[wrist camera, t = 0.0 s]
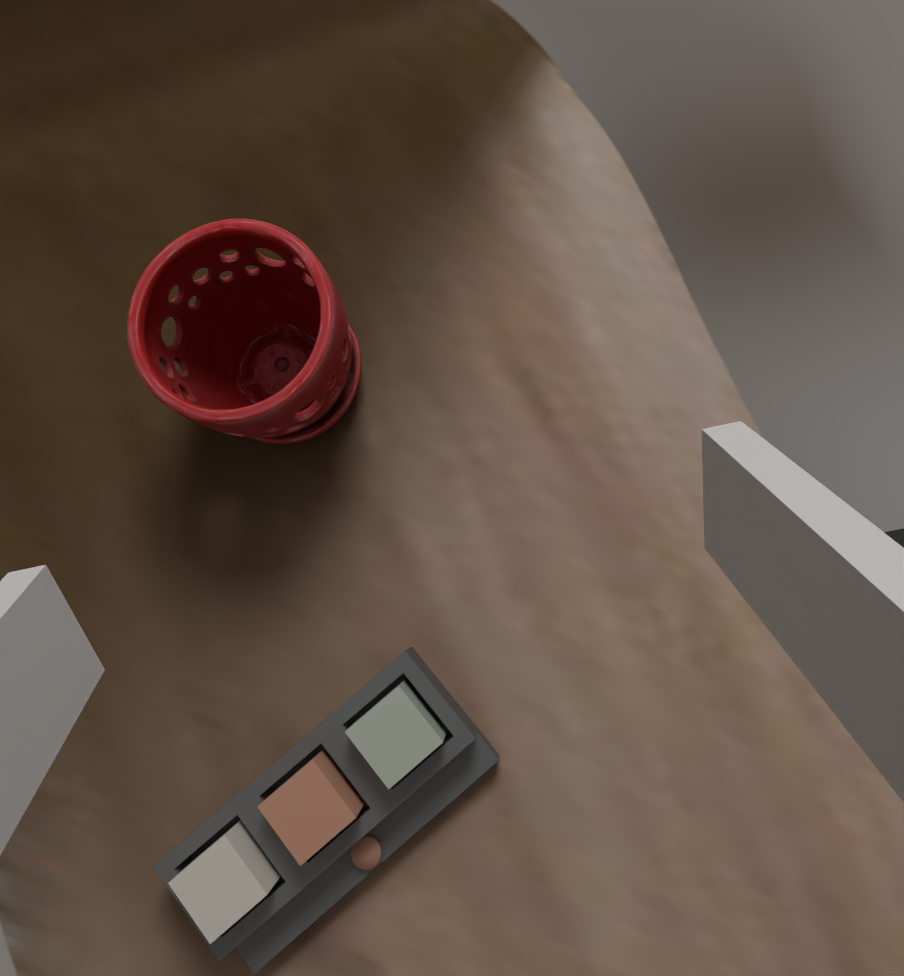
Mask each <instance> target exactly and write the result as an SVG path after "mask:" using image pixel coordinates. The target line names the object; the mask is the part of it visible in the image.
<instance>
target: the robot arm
mask: <svg viewBox="0 0 904 976" xmlns="http://www.w3.org/2000/svg"><path fill="white" fill-rule="evenodd" d="M702 460H703V501H704V542H705V549H706V550H707V551H708V553H709V554H710V555H711V557H712V558H713V559H714V560H715V562H716V563H717V564H718V566H719V567H720V568H721V569H722V571H723V572H724V573H725V575H726V576H727V577H728V578H729V580H730V581H731V582H732V583H733V585H734V586H735V587H736V589H737V590H738V591H739V592H740V594H741V595H742V596H743V598H744V599H745V600H746V601H747V603H748V604H749V605H750V606H751V608H752V609H753V610H754V612H755V613H756V614H757V615H758V617H759V618H760V619H761V621H762V622H763V623H764V624H765V626H766V627H767V628H768V630H769V631H770V632H771V633H772V635H773V636H774V637H775V638H776V640H777V641H778V642H779V644H780V645H781V646H782V647H783V649H784V650H785V651H786V653H787V654H788V655H789V656H790V658H791V659H792V660H793V662H794V663H795V664H796V665H797V667H798V668H799V669H800V670H801V672H802V673H803V674H804V676H805V677H806V678H807V679H808V681H809V682H810V683H811V685H812V686H813V687H814V688H815V690H816V691H817V692H818V693H819V695H820V696H821V697H822V699H823V700H824V701H825V702H826V704H827V705H828V706H829V708H830V709H831V710H832V711H833V713H834V714H835V715H836V717H837V718H838V719H839V720H840V722H841V723H842V724H843V725H844V727H845V728H846V729H847V731H848V732H849V733H850V734H851V736H852V737H853V738H854V740H855V741H856V742H857V743H858V745H859V746H860V747H861V749H862V750H863V751H864V752H865V754H866V755H867V756H868V757H869V759H870V760H871V761H872V763H873V764H874V765H875V766H876V768H877V769H878V770H879V772H880V773H881V774H882V775H883V777H884V778H885V779H886V780H887V782H888V783H889V784H890V786H891V787H892V788H893V789H894V791H895V792H896V793H897V795H898V796H899V797H900V798H901V800H902V801H903V802H904V529H899V530H894V531H889V532H883V531H881V530H880V529H879V528H877V527H876V526H875V525H874V524H872V523H871V522H870V521H868V520H867V519H866V518H865V517H863V516H862V515H861V514H859V513H858V512H857V511H856V510H854V509H853V508H852V507H850V506H849V505H848V504H847V503H845V502H844V501H843V500H841V499H840V498H839V497H837V496H836V495H835V494H834V493H832V492H831V491H830V490H828V489H827V488H826V487H825V486H824V485H822V484H821V483H820V482H818V481H817V480H816V479H814V478H813V477H812V476H811V475H809V474H808V473H807V472H806V471H804V470H803V469H802V468H800V467H799V466H798V465H796V464H795V463H794V462H793V461H791V460H790V459H789V458H788V457H786V456H785V455H784V454H782V453H781V452H780V451H779V450H777V449H776V448H775V447H773V446H772V445H771V444H770V443H768V442H767V441H766V440H764V439H763V438H762V437H761V436H759V435H758V434H757V433H755V432H754V431H753V430H752V429H750V428H749V427H748V426H746V425H745V424H744V423H743V422H741V421H739V422H734V423H730V424H725V425H720V426H715V427H710V428H705V429H702ZM104 670H105V669H104V668H103V666H102V664H101V662H100V661H99V659H98V657H97V655H96V653H95V652H94V650H93V648H92V646H91V644H90V643H89V641H88V639H87V637H86V636H85V634H84V632H83V630H82V628H81V627H80V625H79V623H78V621H77V619H76V618H75V616H74V614H73V612H72V611H71V609H70V607H69V605H68V603H67V602H66V600H65V598H64V596H63V595H62V593H61V591H60V589H59V587H58V586H57V584H56V582H55V580H54V578H53V577H52V575H51V573H50V571H49V570H48V568H47V566H46V565H43V566H38V567H33V568H28V569H24V570H19V571H14V572H9V573H8V574H7V575H6V576H5V577H4V578H3V579H2V580H1V581H0V855H1V853H2V851H3V850H4V848H5V846H6V844H7V842H8V841H9V839H10V837H11V835H12V834H13V832H14V830H15V828H16V826H17V825H18V823H19V821H20V819H21V818H22V816H23V814H24V812H25V810H26V809H27V807H28V805H29V803H30V802H31V800H32V798H33V796H34V794H35V793H36V791H37V789H38V787H39V786H40V784H41V782H42V780H43V779H44V777H45V775H46V773H47V771H48V770H49V768H50V766H51V764H52V763H53V761H54V759H55V757H56V755H57V754H58V752H59V750H60V748H61V747H62V745H63V743H64V741H65V739H66V738H67V736H68V734H69V732H70V731H71V729H72V727H73V725H74V723H75V722H76V720H77V718H78V716H79V715H80V713H81V711H82V709H83V708H84V706H85V704H86V702H87V700H88V699H89V697H90V695H91V693H92V692H93V690H94V688H95V686H96V684H97V683H98V681H99V679H100V677H101V676H102V674H103V672H104Z"/></svg>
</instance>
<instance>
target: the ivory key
mask: <svg viewBox="0 0 904 976" xmlns="http://www.w3.org/2000/svg"><path fill="white" fill-rule="evenodd" d="M280 877H281V875H280V873H279V872H278V871H277V869H276V868H275V866H274V865H273V864H272V862H271V861H270V859H269V858H268V857H267V855H266V854H265V853H264V851H263V850H262V848H261V847H260V846H259V844H258V843H257V841H256V840H255V839H254V837H253V836H252V834H251V833H250V832H249V830H248V829H247V828H246V826H245V825H244V823H243V822H242V821H241V820H240V821H239V822H238V823H236V824H235V825H234V826H233V827H232V828H231V829H229V830H228V831H227V832H226V833H225V834H224V835H222V836H221V837H220V838H219V839H218V840H217V841H215V842H214V843H213V844H212V845H211V846H210V847H208V848H207V849H206V850H205V851H204V852H203V853H201V854H200V855H199V856H198V857H197V858H196V859H194V860H193V861H192V862H191V863H190V864H189V865H187V866H186V867H185V868H184V869H183V870H182V871H181V872H180V873H179V874H178V875H176V876H175V877H174V878H173V879H172V880H171V881H170V882H169V883H168V884H169V885H170V887H171V888H172V890H173V891H174V893H175V894H176V895H177V897H178V898H179V900H180V901H181V903H182V904H183V906H184V907H185V909H186V910H187V911H188V913H189V914H190V916H191V917H192V919H193V920H194V922H195V923H196V925H197V926H198V927H199V929H200V930H201V932H202V933H203V935H204V936H205V938H206V939H207V941H208V942H209V943H210V944H211V943H212V942H213V941H215V940H216V939H217V938H218V937H219V936H220V935H221V934H223V933H224V932H225V931H226V930H227V929H228V928H230V927H231V926H232V925H233V924H234V923H235V922H236V921H238V920H239V919H240V918H241V917H242V916H243V915H245V914H246V913H247V912H248V911H249V910H250V909H251V908H253V907H254V906H255V905H256V904H257V903H258V902H260V901H261V900H262V899H263V898H264V897H265V896H266V895H267V894H268V893H269V892H270V890H271V889H272V888H273V886H274V885H275V883H276V882H277V881H278V879H279V878H280Z"/></svg>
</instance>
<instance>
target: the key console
mask: <svg viewBox="0 0 904 976" xmlns="http://www.w3.org/2000/svg"><path fill="white" fill-rule="evenodd" d="M403 680H405V681H406V682H407V684H408V685H409V686H410V687H411V689H412V690H413V691H414V692H415V694H416V695H417V696H418V697H419V699H420V700H421V701H422V702H423V704H424V705H425V706H426V707H427V709H428V710H429V711H430V713H431V714H432V715H433V716H434V718H435V719H436V720H437V721H438V723H439V724H440V725H441V726H442V728H443V729H444V730H445V731H446V735H445V738H444V741H443V743H442V744H441V745H439V746H438V747H437V748H436V749H435V750H434V751H433V752H431V753H430V754H429V755H428V756H427V757H426V758H424V759H423V760H422V761H421V762H420V763H419V764H418V765H416V766H415V767H414V768H413V769H412V770H411V771H409V772H408V773H407V774H406V775H405V776H404V777H403V778H401V779H400V780H399V781H398V782H397V783H396V784H394V785H393V786H392V787H391V788H390V789H388V788H387V787H386V785H385V784H384V783H383V782H382V780H381V779H380V778H379V776H378V775H377V774H376V772H375V771H374V770H373V768H372V767H371V766H370V765H369V763H368V762H367V761H366V759H365V758H364V757H363V755H362V754H361V753H360V752H359V750H358V749H357V748H356V746H355V745H354V744H353V742H352V741H351V740H350V738H349V737H348V736H347V735H346V733H345V731H346V730H347V729H348V728H349V727H350V726H351V725H352V724H353V723H354V722H356V721H357V720H358V719H359V718H360V717H361V716H363V715H364V714H365V713H366V712H367V711H368V710H370V709H371V708H372V707H373V706H374V705H375V704H377V703H378V702H379V701H380V700H381V699H382V698H384V697H385V696H386V695H387V694H388V693H389V692H391V691H392V690H393V689H394V688H395V687H396V686H398V685H399V684H400V683H401V682H402V681H403ZM323 749H324V750H325V751H326V752H327V754H328V755H329V756H330V757H331V759H332V760H333V761H334V763H335V764H336V765H337V767H338V768H339V769H340V771H341V772H342V773H343V775H344V776H345V777H346V779H347V780H348V781H349V783H350V784H351V785H352V787H353V788H354V789H355V790H356V792H357V793H358V794H359V796H360V797H361V798H362V800H363V801H364V802H365V803H364V805H363V807H362V809H361V810H360V812H359V814H358V815H357V817H356V818H355V819H354V820H353V821H352V822H351V823H350V824H348V825H347V826H346V827H345V828H344V829H343V830H341V831H340V832H339V833H338V834H337V835H336V836H335V837H333V838H332V839H331V840H330V841H329V842H328V843H326V844H325V845H324V846H323V847H322V848H321V849H320V850H318V851H317V852H316V853H315V854H314V855H313V856H311V857H310V858H309V859H308V860H307V861H306V862H305V863H303V864H302V865H301V866H300V865H299V864H298V862H297V861H296V860H295V858H294V857H293V855H292V854H291V853H290V851H289V850H288V849H287V847H286V846H285V844H284V843H283V842H282V840H281V839H280V838H279V836H278V835H277V833H276V832H275V831H274V829H273V828H272V827H271V825H270V824H269V822H268V821H267V820H266V818H265V817H264V816H263V814H262V813H261V811H260V810H259V809H258V806H259V805H260V804H261V803H262V802H263V801H264V800H265V799H266V798H267V797H268V796H269V795H270V794H272V793H273V792H274V791H275V790H276V789H277V788H278V787H280V786H281V785H282V784H283V783H284V782H285V781H287V780H288V779H289V778H290V777H291V776H292V775H294V774H295V773H296V772H297V771H298V770H299V769H301V768H302V767H303V766H304V765H305V764H307V763H308V762H309V761H310V760H311V759H312V758H314V757H315V756H316V755H317V754H318V753H319V752H321V751H322V750H323ZM498 761H499V754H498V753H497V752H496V751H495V749H494V748H493V747H492V746H491V744H490V743H489V742H488V741H487V739H486V738H485V737H484V736H483V734H482V733H481V732H480V731H479V729H478V728H477V727H476V726H475V724H474V723H473V722H472V721H471V719H470V718H469V717H468V716H467V714H466V713H465V712H464V711H463V709H462V708H461V707H460V706H459V704H458V703H457V702H456V701H455V700H454V698H453V697H452V696H451V695H450V693H449V692H448V691H447V690H446V688H445V687H444V686H443V685H442V683H441V682H440V681H439V680H438V678H437V677H436V676H435V675H434V673H433V672H432V671H431V670H430V668H429V667H428V666H427V665H426V663H425V662H424V661H423V660H422V658H421V657H420V656H419V655H418V654H417V652H416V651H415V650H414V649H413V647H410V648H409V649H408V650H406V651H405V652H404V653H403V654H401V655H400V656H399V657H398V658H397V659H395V660H394V661H393V662H392V663H391V664H390V665H388V666H387V667H386V668H385V669H384V670H383V671H381V672H380V673H379V674H378V675H377V676H376V677H374V678H373V679H372V680H371V681H370V682H369V683H367V684H366V685H365V686H364V687H363V688H361V689H360V690H359V691H358V692H357V693H356V694H354V695H353V696H352V697H351V698H350V699H349V700H347V701H346V702H345V703H344V704H343V705H342V706H340V707H339V708H338V709H337V710H336V711H334V712H333V713H332V714H331V715H330V716H329V717H327V718H326V719H325V720H324V721H323V722H322V723H320V724H319V725H318V726H317V727H316V728H315V729H313V730H312V731H311V732H310V733H309V734H308V735H306V736H305V737H304V738H303V739H302V740H300V741H299V742H298V743H297V744H296V745H295V746H293V747H292V748H291V749H290V750H289V751H288V752H286V753H285V754H284V755H283V756H282V757H281V758H279V759H278V760H277V761H276V762H275V763H274V764H272V765H271V766H270V767H269V768H268V769H266V770H265V771H264V772H263V773H262V774H261V775H259V776H258V777H257V778H256V779H255V780H254V781H252V782H251V783H250V784H249V785H248V786H247V787H245V788H244V789H243V790H242V791H241V792H240V793H238V794H237V795H236V796H235V797H234V798H232V799H231V800H230V801H229V802H228V803H227V804H225V805H224V806H223V807H222V808H221V809H220V810H218V811H217V812H216V813H215V814H214V815H213V816H211V817H210V818H209V819H208V820H207V821H206V822H204V823H203V824H202V825H201V826H200V827H198V828H197V829H196V830H195V831H194V832H193V833H191V834H190V835H189V836H188V837H187V838H186V839H184V840H183V841H182V842H181V843H180V844H179V845H177V846H176V847H175V848H174V849H173V850H172V851H170V852H169V853H168V854H167V855H166V856H164V857H163V858H162V859H161V860H160V861H159V862H157V863H156V864H155V865H154V866H153V867H154V869H155V870H156V872H157V873H158V875H159V876H160V878H161V879H162V880H163V882H164V883H165V885H166V886H167V888H168V889H169V891H170V892H171V894H172V895H173V896H174V898H175V899H176V901H177V902H178V904H179V905H180V907H181V908H182V910H183V911H184V912H185V914H186V915H187V917H188V918H189V920H190V921H191V923H192V924H193V926H194V927H195V928H196V930H197V931H198V933H199V934H200V936H201V937H202V939H203V940H204V942H205V943H206V945H207V946H208V947H209V949H210V950H211V952H212V953H213V955H214V956H215V958H216V959H217V961H218V962H219V961H221V960H222V959H223V958H224V957H225V956H226V955H227V954H229V953H230V952H231V951H232V950H233V949H234V948H236V949H237V951H238V952H239V954H240V955H241V957H242V958H243V960H244V961H245V962H246V964H247V965H248V967H249V968H250V970H251V971H252V972H253V974H255V973H256V972H257V971H259V970H260V969H261V968H262V967H263V966H264V965H265V964H267V963H268V962H269V961H270V960H271V959H272V958H273V957H275V956H276V955H277V954H278V953H279V952H280V951H281V950H283V949H284V948H285V947H286V946H287V945H288V944H289V943H291V942H292V941H293V940H294V939H295V938H296V937H297V936H299V935H300V934H301V933H302V932H303V931H304V930H305V929H307V928H308V927H309V926H310V925H311V924H312V923H313V922H315V921H316V920H317V919H318V918H319V917H320V916H321V915H323V914H324V913H325V912H326V911H327V910H328V909H329V908H331V907H332V906H333V905H334V904H335V903H336V902H337V901H339V900H340V899H341V898H342V897H343V896H344V895H345V894H347V893H348V892H349V891H350V890H351V889H352V888H353V887H355V886H356V885H357V884H358V883H359V882H360V881H361V880H363V879H364V878H365V877H366V876H367V875H368V874H370V873H371V872H372V871H373V870H374V869H375V868H376V867H378V866H379V865H380V864H381V863H382V862H383V861H384V860H386V859H387V858H388V857H389V856H390V855H391V854H392V853H394V852H395V851H396V850H397V849H398V848H399V847H400V846H402V845H403V844H404V843H405V842H406V841H407V840H408V839H410V838H411V837H412V836H413V835H414V834H415V833H416V832H418V831H419V830H420V829H421V828H422V827H423V826H424V825H426V824H427V823H428V822H429V821H430V820H431V819H432V818H434V817H435V816H436V815H437V814H438V813H439V812H440V811H442V810H443V809H444V808H445V807H446V806H447V805H448V804H450V803H451V802H452V801H453V800H454V799H455V798H456V797H458V796H459V795H460V794H461V793H462V792H463V791H464V790H466V789H467V788H468V787H469V786H470V785H471V784H472V783H474V782H475V781H476V780H477V779H478V778H479V777H480V776H482V775H483V774H484V773H485V772H486V771H487V770H488V769H490V768H491V767H492V766H493V765H494V764H495V763H496V762H498ZM240 820H241V821H242V822H243V823H244V825H245V826H246V828H247V829H248V830H249V832H250V833H251V834H252V836H253V837H254V839H255V840H256V841H257V843H258V844H259V846H260V847H261V848H262V850H263V851H264V853H265V854H266V855H267V857H268V858H269V859H270V861H271V862H272V864H273V865H274V866H275V868H276V869H277V871H278V872H279V873H280V875H281V877H280V878H279V879H278V881H277V882H276V883H275V885H274V886H273V888H272V889H271V890H270V892H269V893H268V894H267V895H266V896H265V897H264V898H263V899H262V900H261V901H260V902H258V903H257V904H256V905H255V906H254V907H253V908H251V909H250V910H249V911H248V912H247V913H246V914H245V915H243V916H242V917H241V918H240V919H239V920H238V921H236V922H235V923H234V924H233V925H232V926H231V927H230V928H228V929H227V930H226V931H225V932H224V933H223V934H221V935H220V936H219V937H218V938H217V939H216V940H215V941H213V942H212V943H211V944H210V943H209V942H208V941H207V939H206V938H205V936H204V935H203V933H202V932H201V930H200V929H199V927H198V926H197V925H196V923H195V922H194V920H193V919H192V917H191V916H190V914H189V913H188V911H187V910H186V909H185V907H184V906H183V904H182V903H181V901H180V900H179V898H178V897H177V895H176V894H175V893H174V891H173V890H172V888H171V887H170V885H169V884H168V883H169V882H170V881H171V880H172V879H173V878H174V877H175V876H176V875H178V874H179V873H180V872H181V871H182V870H183V869H184V868H185V867H186V866H187V865H189V864H190V863H191V862H192V861H193V860H194V859H196V858H197V857H198V856H199V855H200V854H201V853H203V852H204V851H205V850H206V849H207V848H208V847H210V846H211V845H212V844H213V843H214V842H215V841H217V840H218V839H219V838H220V837H221V836H222V835H224V834H225V833H226V832H227V831H228V830H229V829H231V828H232V827H233V826H234V825H235V824H236V823H238V822H239V821H240Z"/></svg>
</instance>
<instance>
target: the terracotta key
mask: <svg viewBox="0 0 904 976" xmlns="http://www.w3.org/2000/svg"><path fill="white" fill-rule="evenodd" d="M364 803H365V802H364V801H363V800H362V798H361V797H360V796H359V794H358V793H357V792H356V790H355V789H354V788H353V787H352V785H351V784H350V783H349V781H348V780H347V779H346V777H345V776H344V775H343V773H342V772H341V771H340V769H339V768H338V767H337V765H336V764H335V763H334V761H333V760H332V759H331V757H330V756H329V755H328V754H327V752H326V751H325V750H324V749H323V750H322V751H321V752H319V753H318V754H317V755H316V756H315V757H314V758H312V759H311V760H310V761H309V762H308V763H307V764H305V765H304V766H303V767H302V768H301V769H299V770H298V771H297V772H296V773H295V774H294V775H292V776H291V777H290V778H289V779H288V780H287V781H285V782H284V783H283V784H282V785H281V786H280V787H278V788H277V789H276V790H275V791H274V792H273V793H272V794H270V795H269V796H268V797H267V798H266V799H265V800H264V801H263V802H262V803H261V804H260V805H259V806H258V809H259V810H260V811H261V813H262V814H263V816H264V817H265V818H266V820H267V821H268V822H269V824H270V825H271V827H272V828H273V829H274V831H275V832H276V833H277V835H278V836H279V838H280V839H281V840H282V842H283V843H284V844H285V846H286V847H287V849H288V850H289V851H290V853H291V854H292V855H293V857H294V858H295V860H296V861H297V862H298V864H299V865H300V866H301V865H302V864H303V863H305V862H306V861H307V860H308V859H309V858H310V857H311V856H313V855H314V854H315V853H316V852H317V851H318V850H320V849H321V848H322V847H323V846H324V845H325V844H326V843H328V842H329V841H330V840H331V839H332V838H333V837H335V836H336V835H337V834H338V833H339V832H340V831H341V830H343V829H344V828H345V827H346V826H347V825H348V824H350V823H351V822H352V821H353V820H354V819H355V818H356V817H357V815H358V814H359V812H360V810H361V809H362V807H363V805H364Z"/></svg>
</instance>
